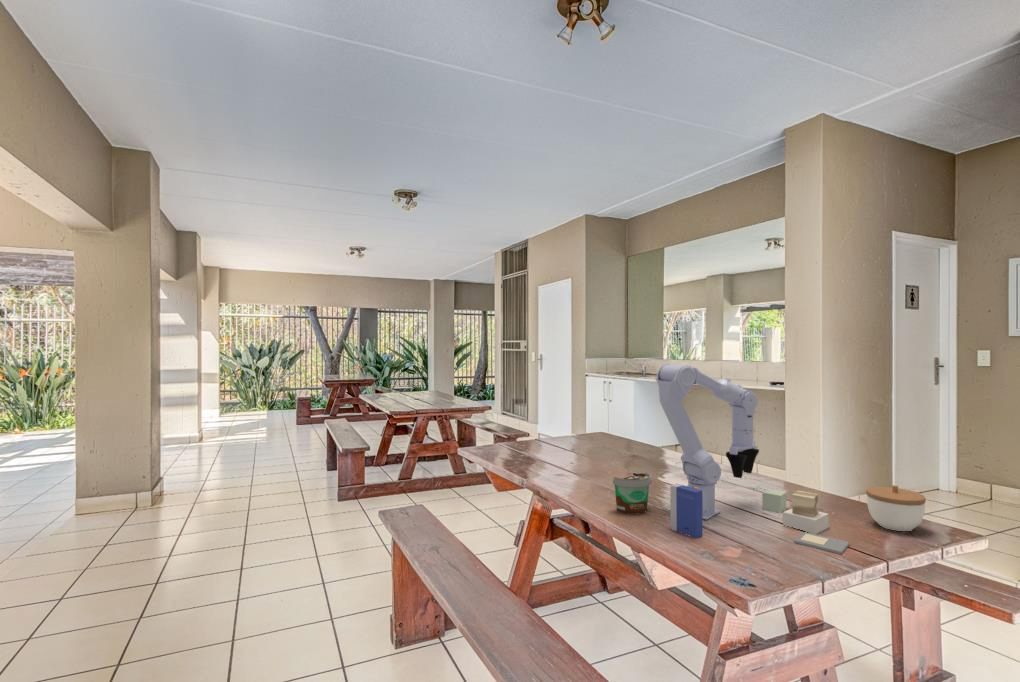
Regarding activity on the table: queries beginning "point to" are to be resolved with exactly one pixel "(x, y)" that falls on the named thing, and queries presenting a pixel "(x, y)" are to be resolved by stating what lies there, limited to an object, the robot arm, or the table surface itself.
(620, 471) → the table surface
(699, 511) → the walkman
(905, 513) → the lidded bowl
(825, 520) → the base block
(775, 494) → the sage cube
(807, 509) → the birch cube
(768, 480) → the table surface
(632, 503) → the food container
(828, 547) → the card
